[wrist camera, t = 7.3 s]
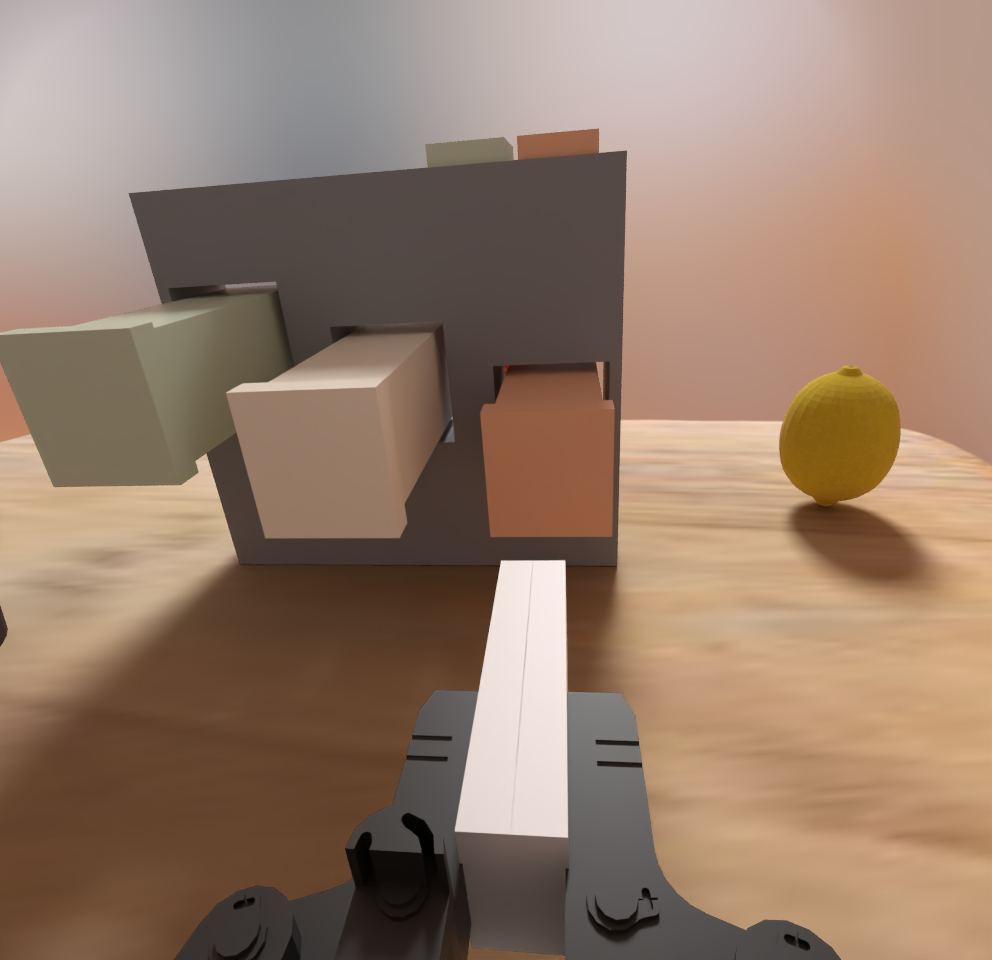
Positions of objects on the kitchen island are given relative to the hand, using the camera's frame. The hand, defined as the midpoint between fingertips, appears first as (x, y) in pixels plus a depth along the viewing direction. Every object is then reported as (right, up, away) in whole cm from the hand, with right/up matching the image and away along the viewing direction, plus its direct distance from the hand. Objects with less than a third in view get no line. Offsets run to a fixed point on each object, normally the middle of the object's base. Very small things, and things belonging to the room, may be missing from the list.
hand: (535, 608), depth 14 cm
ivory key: (-6, +4, +11) cm, 13 cm away
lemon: (+18, +1, +19) cm, 26 cm away
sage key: (-13, +6, +11) cm, 18 cm away
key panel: (-5, 0, +18) cm, 19 cm away
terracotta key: (+2, +4, +14) cm, 14 cm away
